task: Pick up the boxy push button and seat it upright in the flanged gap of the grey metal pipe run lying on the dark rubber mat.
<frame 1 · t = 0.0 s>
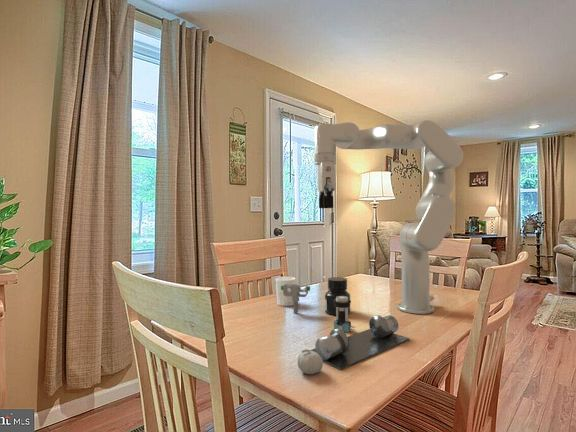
hand: (325, 208, 122), 37 cm above the table, tool pointing down, fingers open, 9 cm apart
mechanical component: (295, 313, 122), on the table
push button: (344, 331, 104), on the table
garlic: (309, 373, 78), on the table
ink bottle: (337, 313, 123), on the table
white cup: (285, 304, 135), on the table
pipe run: (360, 346, 92), on the table
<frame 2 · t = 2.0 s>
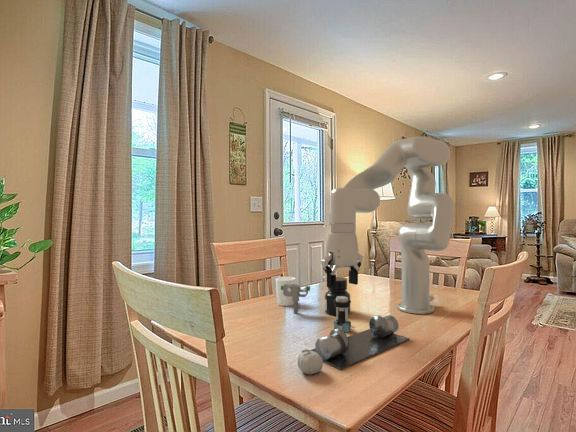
hand: (342, 285, 104), 14 cm above the table, tool pointing down, fingers open, 9 cm apart
nothing on the table moved.
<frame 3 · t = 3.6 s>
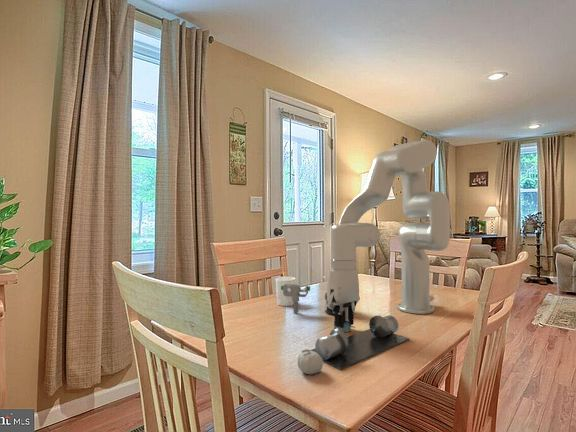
hand: (344, 324, 104), 2 cm above the table, tool pointing down, fingers closed on push button, 3 cm apart
push button: (344, 331, 104), on the table, touching gripper
everything else where it was.
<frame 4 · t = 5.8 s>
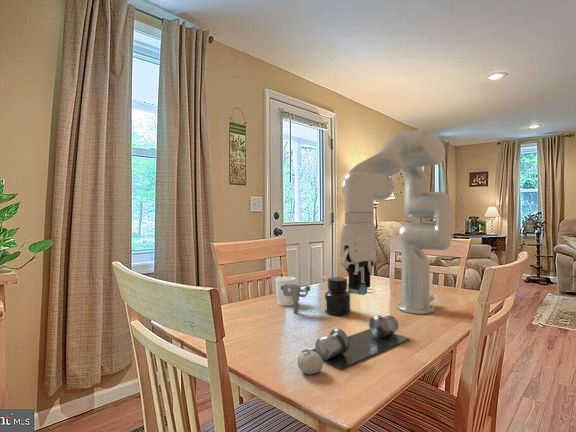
hand: (359, 287, 92), 16 cm above the table, tool pointing down, fingers closed on push button, 3 cm apart
push button: (359, 294, 92), point 14 cm above the table, touching gripper
everything else where it was.
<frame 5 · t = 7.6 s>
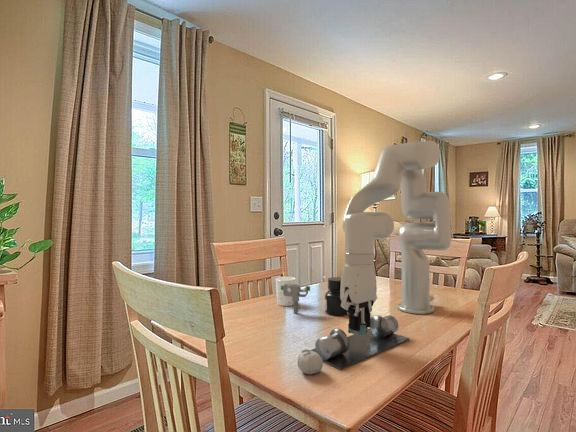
hand: (359, 327, 92), 5 cm above the table, tool pointing down, fingers closed on push button, 3 cm apart
push button: (360, 334, 92), point 3 cm above the table, touching gripper
everything else where it was.
when the fingers open (3 cm above the table, at t = 8.3 s): push button moves 1 cm, resting on pipe run.
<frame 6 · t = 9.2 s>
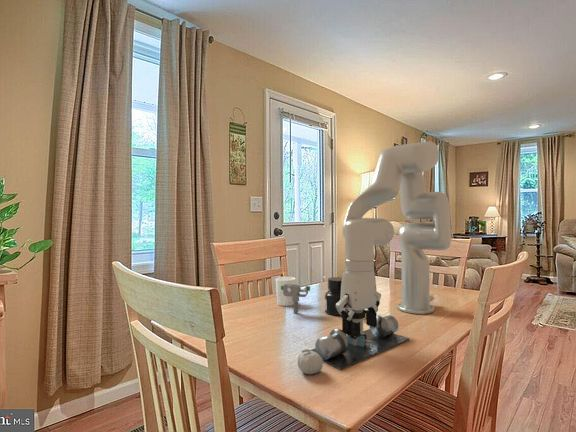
hand: (359, 329, 92), 5 cm above the table, tool pointing down, fingers open, 9 cm apart
push button: (359, 345, 92), resting on pipe run
everything else where it was.
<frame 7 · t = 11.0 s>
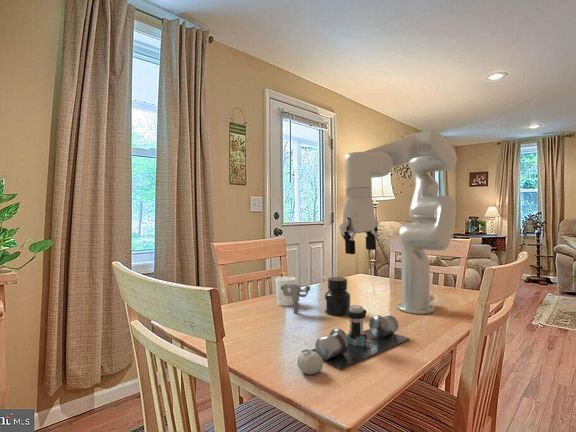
hand: (360, 251, 103), 24 cm above the table, tool pointing down, fingers open, 9 cm apart
nothing on the table moved.
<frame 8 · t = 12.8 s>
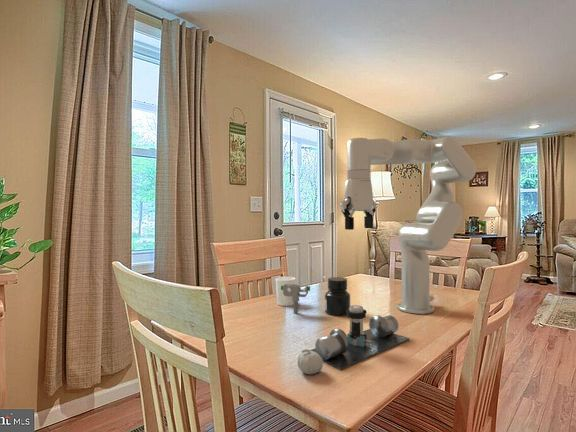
hand: (359, 228, 113), 30 cm above the table, tool pointing down, fingers open, 9 cm apart
nothing on the table moved.
at the end: push button inside the target area on the pipe run (0.3 cm from its centre), point 0.3 cm above the pipe run's base; push button tilted 0°; the gripper is holding nothing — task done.
